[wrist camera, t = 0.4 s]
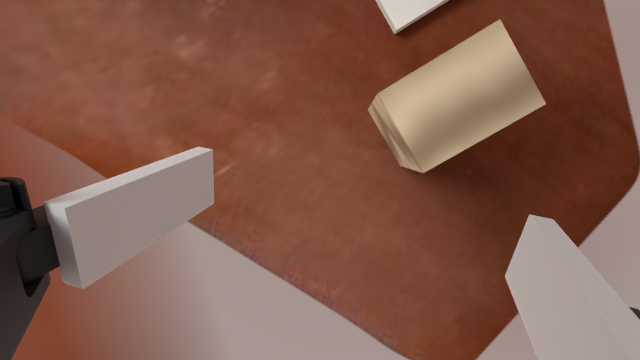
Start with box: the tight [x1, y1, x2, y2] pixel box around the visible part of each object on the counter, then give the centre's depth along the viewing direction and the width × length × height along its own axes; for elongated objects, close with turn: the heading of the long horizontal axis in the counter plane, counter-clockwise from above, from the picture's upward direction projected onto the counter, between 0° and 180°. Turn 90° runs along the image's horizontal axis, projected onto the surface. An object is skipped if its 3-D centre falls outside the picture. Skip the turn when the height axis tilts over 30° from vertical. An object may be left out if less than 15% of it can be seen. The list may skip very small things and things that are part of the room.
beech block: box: [368, 19, 546, 173], centre depth 28 cm, size 7×10×10 cm
